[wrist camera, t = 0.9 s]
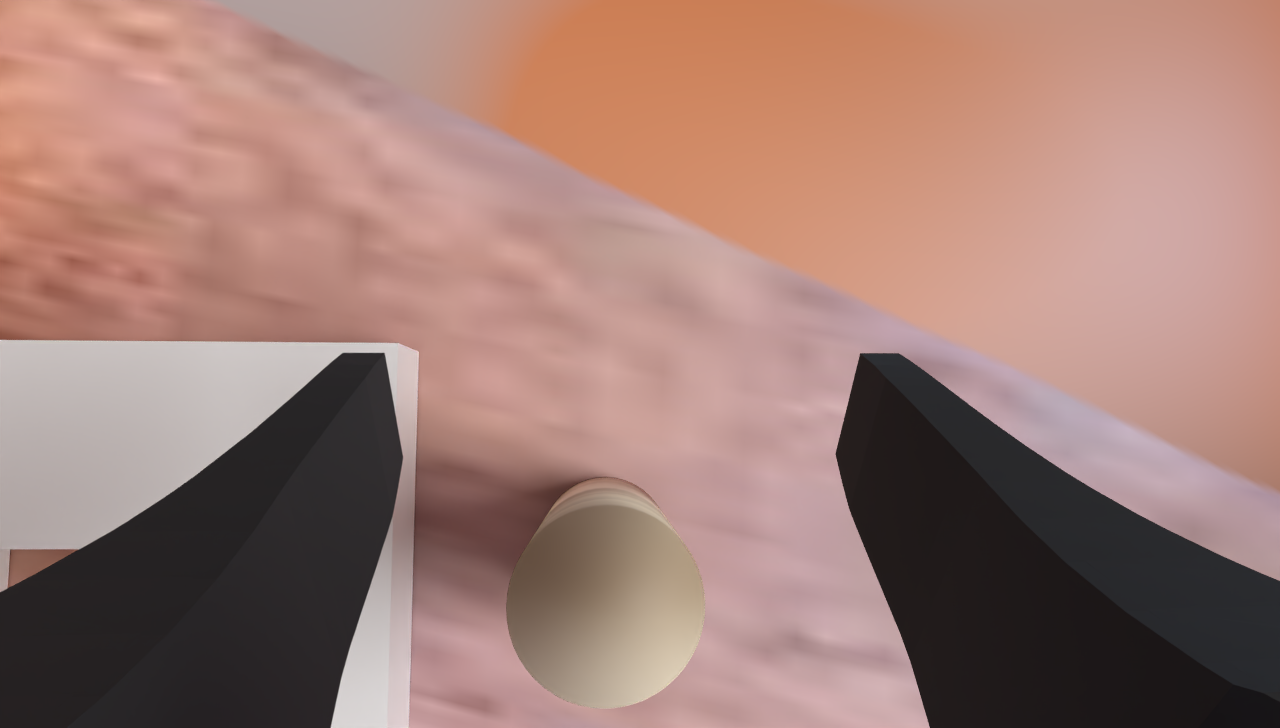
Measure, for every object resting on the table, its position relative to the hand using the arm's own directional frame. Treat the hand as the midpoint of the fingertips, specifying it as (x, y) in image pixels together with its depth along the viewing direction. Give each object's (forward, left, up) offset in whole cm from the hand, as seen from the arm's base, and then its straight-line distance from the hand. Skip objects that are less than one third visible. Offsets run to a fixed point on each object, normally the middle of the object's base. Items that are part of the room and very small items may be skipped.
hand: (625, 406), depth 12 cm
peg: (-4, 0, -13) cm, 13 cm away
